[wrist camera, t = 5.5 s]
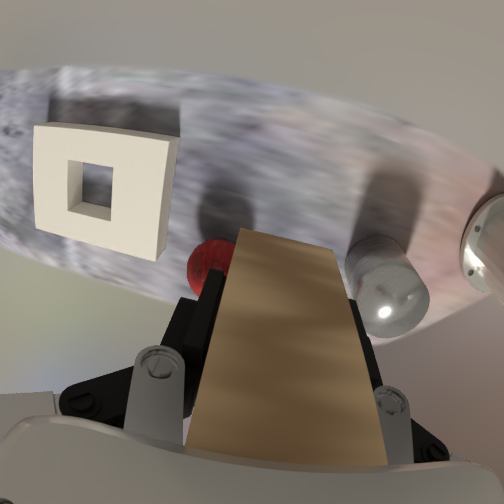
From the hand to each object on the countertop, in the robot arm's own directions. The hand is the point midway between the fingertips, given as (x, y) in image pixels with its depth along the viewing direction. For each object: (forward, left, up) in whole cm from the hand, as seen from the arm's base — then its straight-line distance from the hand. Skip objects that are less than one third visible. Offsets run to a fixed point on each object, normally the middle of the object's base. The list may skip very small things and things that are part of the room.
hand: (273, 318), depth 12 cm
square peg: (0, 0, -3) cm, 3 cm away
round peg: (-3, +13, -20) cm, 24 cm away
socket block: (+14, -12, -20) cm, 27 cm away
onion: (+9, +2, -20) cm, 22 cm away
